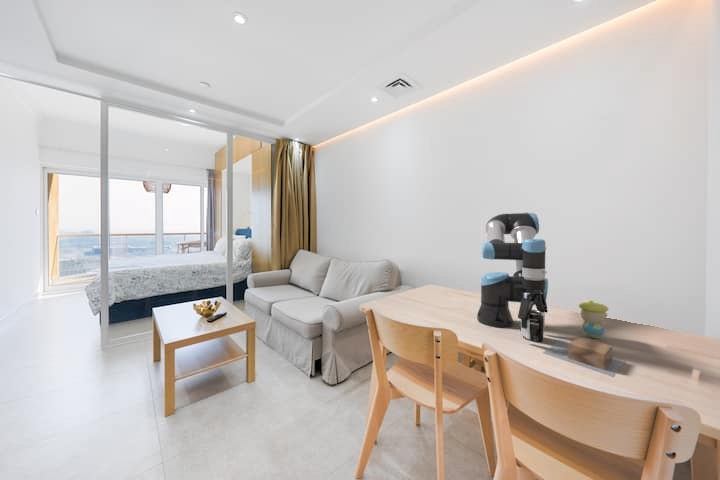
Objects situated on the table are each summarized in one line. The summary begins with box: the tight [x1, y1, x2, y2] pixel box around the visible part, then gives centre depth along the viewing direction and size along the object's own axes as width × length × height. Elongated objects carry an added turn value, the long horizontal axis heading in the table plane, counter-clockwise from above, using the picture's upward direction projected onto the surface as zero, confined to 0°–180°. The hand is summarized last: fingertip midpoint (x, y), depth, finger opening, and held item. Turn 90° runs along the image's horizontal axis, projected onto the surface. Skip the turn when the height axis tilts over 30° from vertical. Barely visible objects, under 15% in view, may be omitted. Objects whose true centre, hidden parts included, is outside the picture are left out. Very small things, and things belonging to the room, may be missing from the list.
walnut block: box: [567, 336, 613, 370], centre depth 85 cm, size 9×9×5 cm
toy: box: [578, 300, 609, 339], centre depth 103 cm, size 8×9×15 cm
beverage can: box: [522, 309, 545, 343], centre depth 101 cm, size 7×7×12 cm
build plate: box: [542, 341, 626, 378], centre depth 87 cm, size 18×14×1 cm
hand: (533, 331), depth 101 cm, fingers open, 13 cm apart
